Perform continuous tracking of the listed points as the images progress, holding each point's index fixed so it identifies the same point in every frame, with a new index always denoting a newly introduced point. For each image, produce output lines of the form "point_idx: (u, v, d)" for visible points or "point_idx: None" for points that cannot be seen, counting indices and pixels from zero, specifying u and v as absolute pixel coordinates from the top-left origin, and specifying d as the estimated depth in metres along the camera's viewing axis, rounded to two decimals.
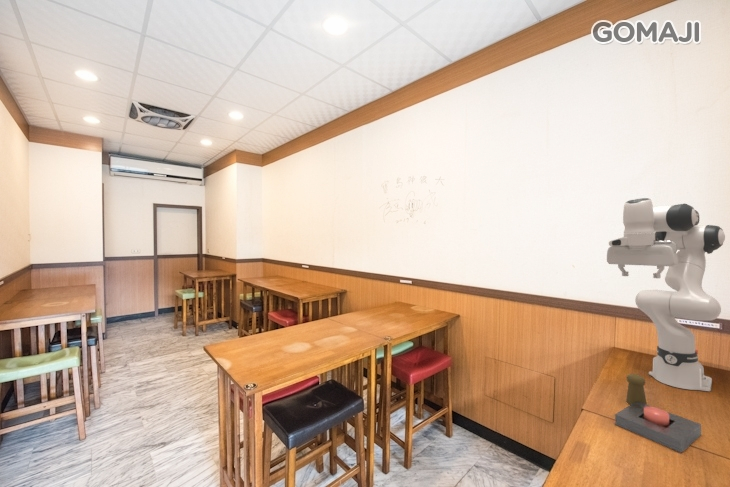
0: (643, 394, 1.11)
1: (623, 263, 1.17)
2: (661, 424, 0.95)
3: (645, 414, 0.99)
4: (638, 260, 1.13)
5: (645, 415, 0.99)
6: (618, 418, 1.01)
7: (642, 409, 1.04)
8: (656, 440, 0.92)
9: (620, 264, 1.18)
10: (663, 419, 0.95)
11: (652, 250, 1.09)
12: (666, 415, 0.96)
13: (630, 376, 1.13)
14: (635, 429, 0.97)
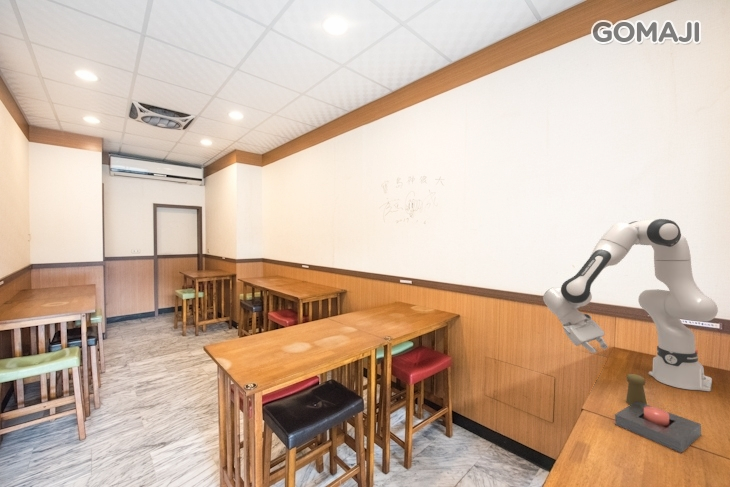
0: (643, 394, 1.11)
1: None
2: (661, 424, 0.95)
3: (645, 414, 0.99)
4: None
5: (645, 415, 0.99)
6: (618, 418, 1.01)
7: (642, 409, 1.04)
8: (656, 440, 0.92)
9: None
10: (663, 419, 0.95)
11: None
12: (666, 415, 0.96)
13: (630, 376, 1.13)
14: (635, 429, 0.97)
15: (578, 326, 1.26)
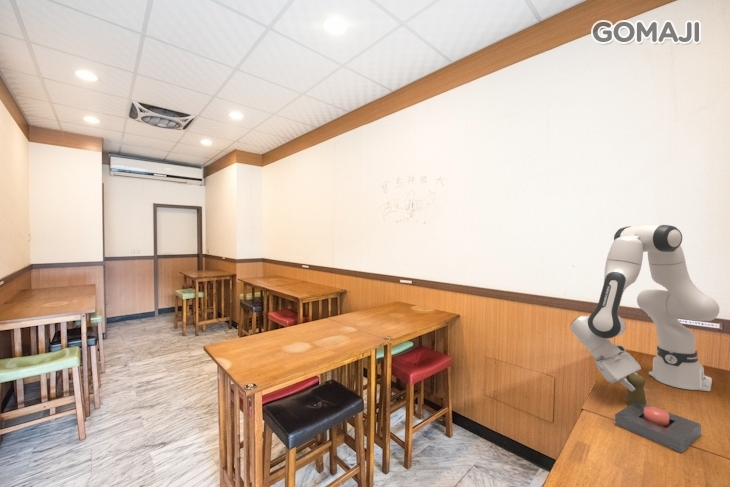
0: (643, 394, 1.11)
1: None
2: (661, 424, 0.95)
3: (645, 414, 0.99)
4: None
5: (645, 415, 0.99)
6: (618, 418, 1.01)
7: (642, 409, 1.04)
8: (656, 440, 0.92)
9: None
10: (663, 419, 0.95)
11: None
12: (666, 415, 0.96)
13: (630, 376, 1.13)
14: (635, 429, 0.97)
15: (612, 361, 1.16)
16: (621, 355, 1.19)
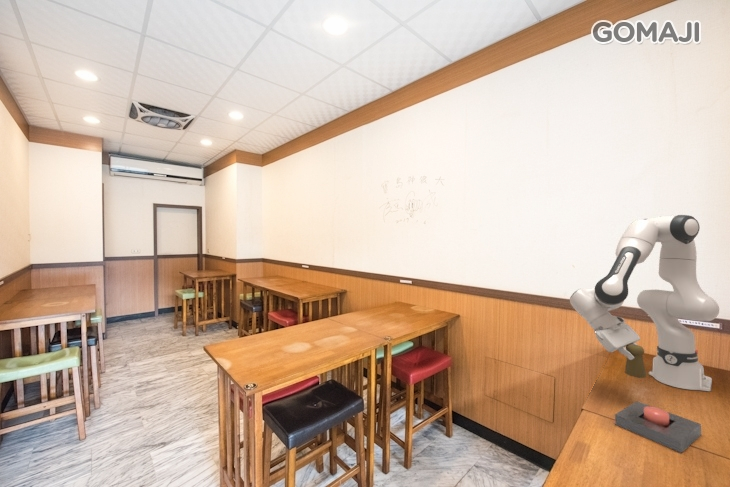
0: (642, 363, 1.10)
1: None
2: (661, 424, 0.95)
3: (645, 414, 0.99)
4: None
5: (645, 415, 0.99)
6: (618, 418, 1.01)
7: (642, 409, 1.04)
8: (656, 440, 0.92)
9: None
10: (663, 419, 0.95)
11: None
12: (666, 415, 0.96)
13: (629, 346, 1.13)
14: (635, 429, 0.97)
15: (611, 331, 1.16)
16: (620, 326, 1.19)
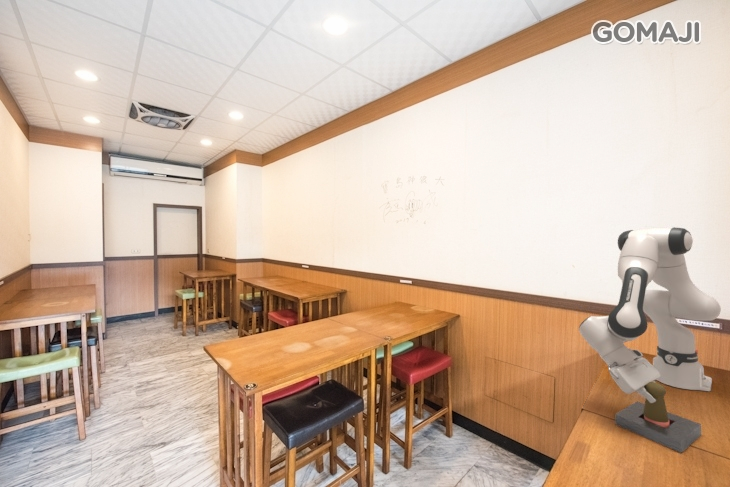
0: (664, 406, 0.96)
1: None
2: None
3: None
4: None
5: None
6: (618, 418, 1.01)
7: (642, 409, 1.04)
8: (656, 440, 0.92)
9: None
10: (664, 425, 0.95)
11: None
12: None
13: (648, 385, 0.98)
14: (635, 429, 0.97)
15: (627, 368, 1.01)
16: (637, 361, 1.04)
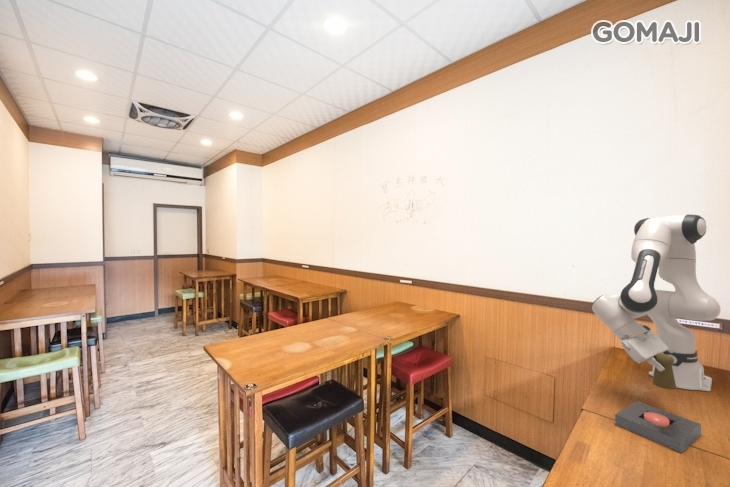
0: (672, 374, 1.04)
1: None
2: None
3: None
4: None
5: None
6: (618, 418, 1.01)
7: (642, 409, 1.04)
8: (656, 440, 0.92)
9: None
10: (664, 425, 0.95)
11: None
12: (666, 421, 0.96)
13: (657, 355, 1.06)
14: (635, 429, 0.97)
15: (638, 340, 1.10)
16: (647, 335, 1.13)
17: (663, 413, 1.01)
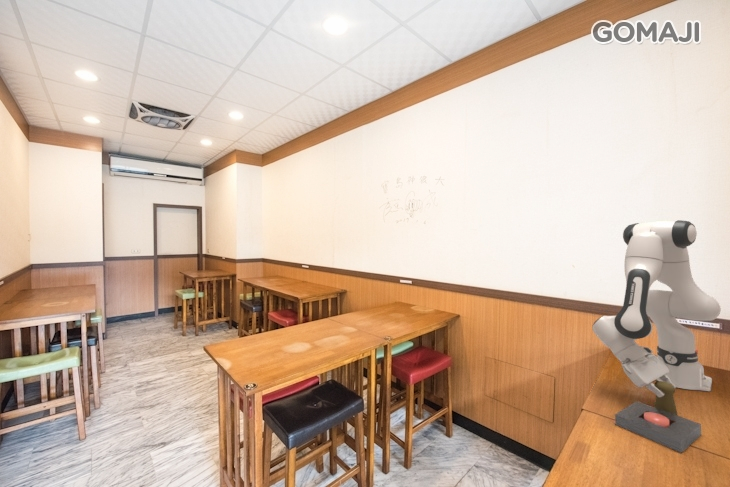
0: (673, 403, 1.04)
1: None
2: None
3: None
4: None
5: None
6: (618, 418, 1.01)
7: (642, 409, 1.04)
8: (656, 440, 0.92)
9: None
10: (664, 425, 0.95)
11: None
12: (666, 421, 0.96)
13: (658, 383, 1.07)
14: (635, 429, 0.97)
15: (639, 363, 1.10)
16: (648, 357, 1.13)
17: (663, 413, 1.01)
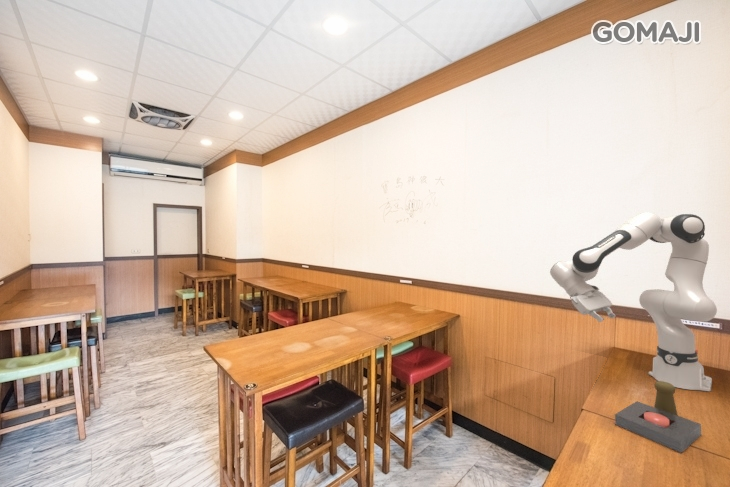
0: (673, 403, 1.04)
1: None
2: None
3: None
4: None
5: None
6: (618, 418, 1.01)
7: (642, 409, 1.04)
8: (656, 440, 0.92)
9: None
10: (664, 425, 0.95)
11: None
12: (666, 421, 0.96)
13: (659, 383, 1.07)
14: (635, 429, 0.97)
15: (585, 296, 1.28)
16: (594, 293, 1.31)
17: (663, 413, 1.01)
